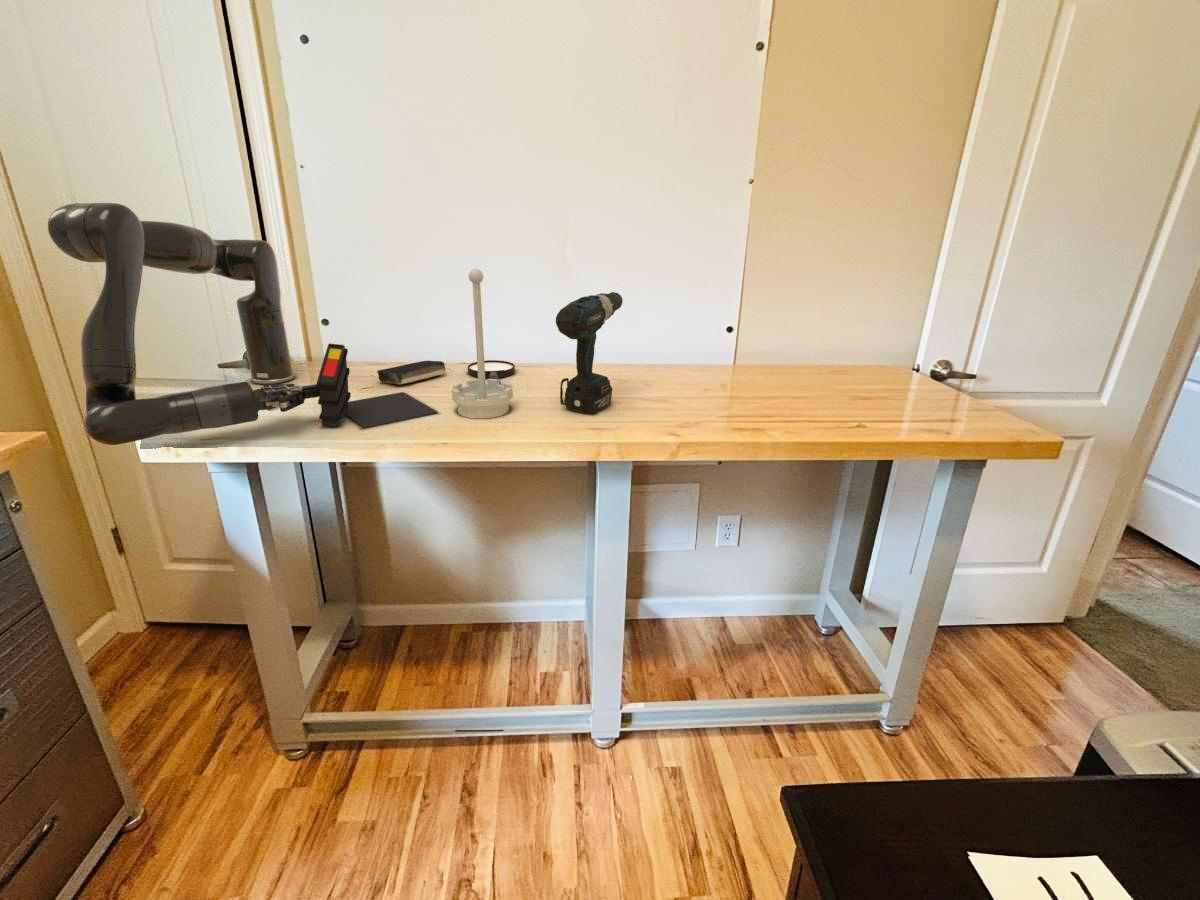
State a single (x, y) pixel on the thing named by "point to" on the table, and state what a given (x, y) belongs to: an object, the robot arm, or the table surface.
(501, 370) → the magnifying glass
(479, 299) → the flag stand
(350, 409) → the mat
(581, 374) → the power drill
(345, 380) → the black tall stepped block
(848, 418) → the table surface
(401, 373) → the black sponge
